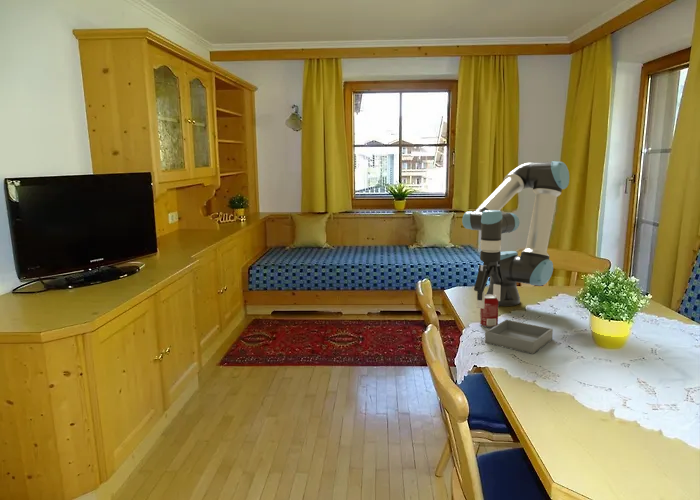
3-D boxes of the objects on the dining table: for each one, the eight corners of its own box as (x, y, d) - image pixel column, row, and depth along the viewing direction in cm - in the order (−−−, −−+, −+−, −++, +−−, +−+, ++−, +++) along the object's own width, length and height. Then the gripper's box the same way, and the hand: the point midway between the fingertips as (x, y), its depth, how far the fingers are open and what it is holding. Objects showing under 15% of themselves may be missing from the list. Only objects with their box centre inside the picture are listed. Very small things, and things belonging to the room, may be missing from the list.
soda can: (498, 328, 188) (499, 298, 186) (480, 328, 189) (481, 298, 187) (496, 323, 194) (497, 294, 192) (479, 322, 196) (480, 293, 194)
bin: (506, 329, 187) (506, 319, 186) (552, 339, 175) (552, 328, 175) (485, 342, 174) (485, 331, 173) (533, 354, 163) (533, 342, 162)
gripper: (495, 245, 198) (494, 296, 202) (465, 254, 180) (464, 309, 183) (513, 247, 193) (511, 299, 197) (484, 256, 175) (482, 313, 178)
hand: (488, 304), depth 190 cm, fingers open, 13 cm apart
